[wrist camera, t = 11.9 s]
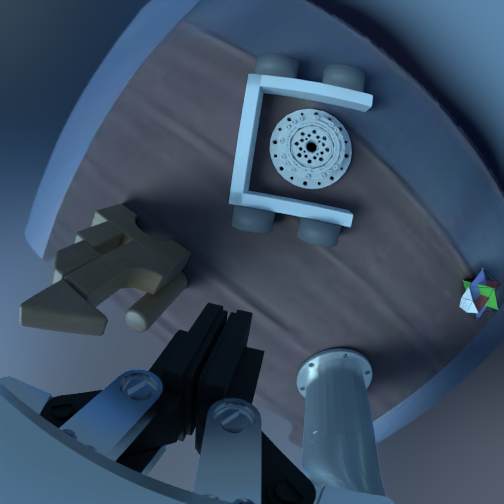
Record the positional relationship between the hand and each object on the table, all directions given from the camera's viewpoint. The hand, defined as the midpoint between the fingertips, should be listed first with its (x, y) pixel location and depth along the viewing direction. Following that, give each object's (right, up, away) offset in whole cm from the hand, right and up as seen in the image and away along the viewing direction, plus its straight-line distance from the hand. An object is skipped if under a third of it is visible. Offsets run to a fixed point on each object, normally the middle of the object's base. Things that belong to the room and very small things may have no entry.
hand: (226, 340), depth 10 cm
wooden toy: (-14, +4, +30) cm, 34 cm away
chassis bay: (+8, +16, +22) cm, 29 cm away
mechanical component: (+8, +16, +23) cm, 29 cm away
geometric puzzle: (+35, -2, +23) cm, 42 cm away
